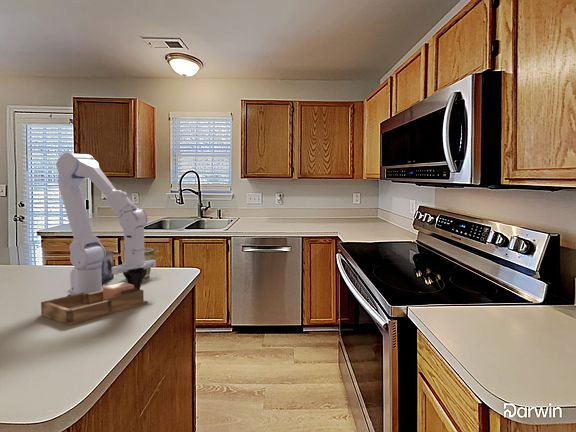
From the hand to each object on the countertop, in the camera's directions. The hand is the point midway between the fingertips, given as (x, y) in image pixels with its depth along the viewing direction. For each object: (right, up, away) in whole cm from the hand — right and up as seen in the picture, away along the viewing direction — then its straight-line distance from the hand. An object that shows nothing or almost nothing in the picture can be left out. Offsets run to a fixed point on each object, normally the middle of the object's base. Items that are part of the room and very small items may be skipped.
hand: (135, 293), depth 135 cm
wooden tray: (-7, -3, -10) cm, 13 cm away
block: (-3, -2, -5) cm, 6 cm away
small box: (-20, 0, +22) cm, 30 cm away
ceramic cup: (-7, +1, +31) cm, 31 cm away
